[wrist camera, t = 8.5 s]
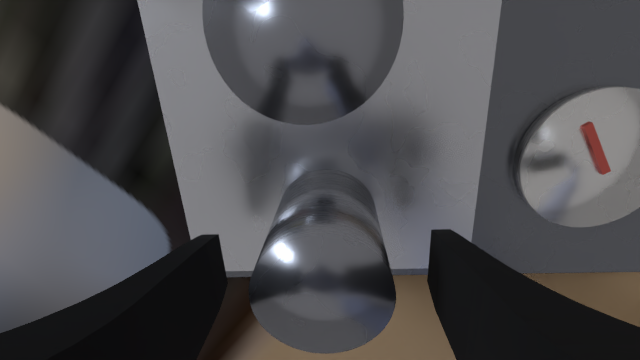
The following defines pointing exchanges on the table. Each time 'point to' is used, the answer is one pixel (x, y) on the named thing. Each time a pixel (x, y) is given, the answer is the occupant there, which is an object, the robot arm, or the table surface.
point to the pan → (333, 132)
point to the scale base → (561, 140)
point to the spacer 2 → (324, 267)
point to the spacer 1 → (303, 53)
